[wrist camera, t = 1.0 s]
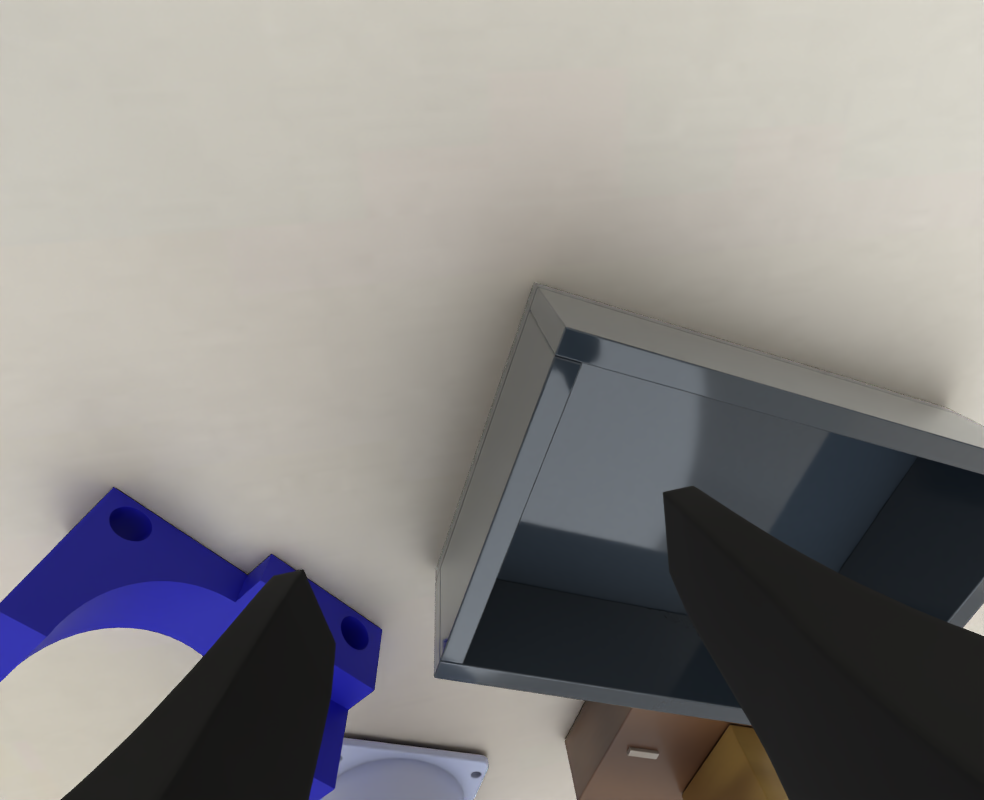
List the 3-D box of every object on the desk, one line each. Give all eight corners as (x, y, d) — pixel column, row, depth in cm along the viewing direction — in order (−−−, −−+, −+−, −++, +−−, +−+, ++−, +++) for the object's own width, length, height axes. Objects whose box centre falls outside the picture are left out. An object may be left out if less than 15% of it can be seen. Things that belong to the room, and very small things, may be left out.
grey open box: (790, 636, 27) (866, 743, 22) (435, 569, 23) (433, 678, 18) (947, 407, 22) (1088, 478, 17) (533, 281, 19) (565, 326, 14)
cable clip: (381, 629, 24) (364, 767, 19) (313, 683, 25) (278, 829, 20) (138, 462, 20) (25, 577, 15) (67, 534, 21) (-64, 667, 16)
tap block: (743, 772, 31) (774, 836, 28) (559, 748, 29) (573, 814, 26) (830, 654, 27) (875, 713, 25) (629, 617, 25) (653, 676, 22)
